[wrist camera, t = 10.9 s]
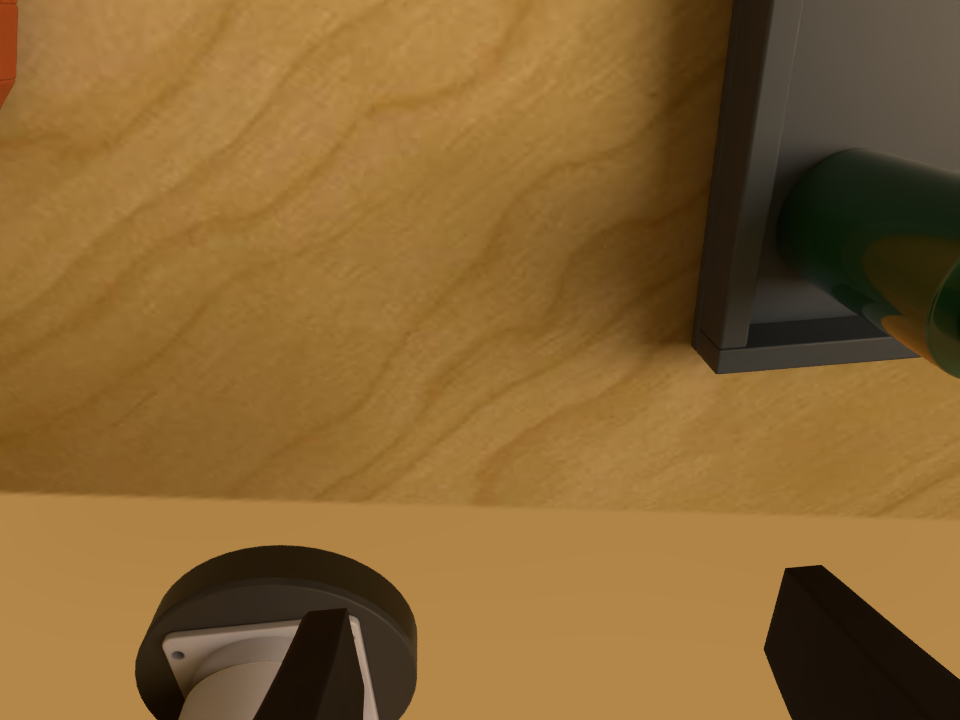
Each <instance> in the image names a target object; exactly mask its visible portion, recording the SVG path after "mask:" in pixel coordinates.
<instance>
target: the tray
mask: <svg viewBox="0 0 960 720" xmlns="http://www.w3.org/2000/svg"><path fill="white" fill-rule="evenodd" d="M858 148H871V149H877V150H881V151H885V152H889V153H893V154H896V155H900V156H904V157H908V158H912V159H916V160H919V161H923V162H927V163H931V164H935V165H939V166H942V167H946V168H950V169H954V170H958V171H960V0H734V4H733V12H732V20H731V28H730V36H729V44H728V52H727V60H726V68H725V77H724V85H723V93H722V101H721V109H720V117H719V125H718V133H717V141H716V149H715V157H714V165H713V173H712V181H711V189H710V198H709V206H708V214H707V222H706V230H705V238H704V246H703V254H702V262H701V270H700V278H699V286H698V294H697V302H696V310H695V319H694V327H693V335H692V343H691V346H692V347H693V348H694V350H695V351H697V353H698V354H699V355H700V356H701V357H702V358H703V360H704V361H705V362H706V363H707V364H708V365H709V367H710V368H711V369H712V370H713V371H714V372H715V374H727V373H739V372H751V371H763V370H775V369H787V368H799V367H810V366H822V365H834V364H846V363H858V362H870V361H882V360H894V359H906V358H918V357H921V356H920V355H918V354H917V353H915V352H914V351H912V350H911V349H909V348H908V347H906V346H905V345H903V344H902V343H900V342H899V341H897V340H895V339H894V338H892V337H891V336H889V335H888V334H886V333H885V332H883V331H882V330H880V329H879V328H877V327H876V326H874V325H872V324H871V323H869V322H868V321H866V320H865V319H863V318H862V317H860V316H859V315H857V314H856V313H854V312H853V311H851V310H849V309H848V308H846V307H845V306H843V305H842V304H840V303H839V302H837V301H836V300H834V299H833V298H831V297H830V296H828V295H827V294H825V293H823V292H822V291H820V290H819V289H817V288H816V287H814V286H813V285H811V284H810V283H808V282H807V281H805V280H804V279H802V278H800V277H799V276H797V275H796V274H794V273H793V272H792V271H791V270H790V269H789V268H788V267H787V265H786V264H785V263H784V261H783V259H782V257H781V255H780V252H779V248H778V243H777V227H778V221H779V217H780V213H781V210H782V208H783V205H784V203H785V201H786V199H787V197H788V196H789V194H790V192H791V191H792V189H793V188H794V187H795V185H796V184H797V183H798V182H799V180H800V179H801V178H802V177H803V176H804V175H805V174H806V173H807V172H808V171H810V170H811V169H812V168H813V167H814V166H816V165H817V164H819V163H820V162H822V161H823V160H825V159H827V158H829V157H831V156H833V155H836V154H838V153H841V152H844V151H847V150H851V149H858Z"/></svg>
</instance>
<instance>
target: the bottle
mask: <svg viewBox="0 0 960 720" xmlns="http://www.w3.org/2000/svg"><path fill="white" fill-rule="evenodd" d="M777 243H778V248H779V252H780V255H781V257H782V259H783V261H784V263H785V264H786V265H787V267H788V268H789V269H790V270H791V271H792V272H793V273H794V274H796V275H797V276H799V277H800V278H802V279H804V280H805V281H807V282H808V283H810V284H811V285H813V286H814V287H816V288H817V289H819V290H820V291H822V292H823V293H825V294H827V295H828V296H830V297H831V298H833V299H834V300H836V301H837V302H839V303H840V304H842V305H843V306H845V307H846V308H848V309H849V310H851V311H853V312H854V313H856V314H857V315H859V316H860V317H862V318H863V319H865V320H866V321H868V322H869V323H871V324H872V325H874V326H876V327H877V328H879V329H880V330H882V331H883V332H885V333H886V334H888V335H889V336H891V337H892V338H894V339H895V340H897V341H899V342H900V343H902V344H903V345H905V346H906V347H908V348H909V349H911V350H912V351H914V352H915V353H917V354H918V355H920V356H921V357H923V358H925V359H926V360H928V361H929V362H931V363H932V364H934V365H935V366H937V367H938V368H940V369H941V370H943V371H944V372H946V373H948V374H949V375H951V376H953V377H956V378H958V379H960V171H958V170H954V169H950V168H946V167H942V166H939V165H935V164H931V163H927V162H923V161H919V160H916V159H912V158H908V157H904V156H900V155H896V154H893V153H889V152H885V151H881V150H877V149H871V148H858V149H851V150H847V151H844V152H841V153H838V154H836V155H833V156H831V157H829V158H827V159H825V160H823V161H822V162H820V163H819V164H817V165H816V166H814V167H813V168H812V169H811V170H810V171H808V172H807V173H806V174H805V175H804V176H803V177H802V178H801V179H800V180H799V182H798V183H797V184H796V185H795V187H794V188H793V189H792V191H791V192H790V194H789V196H788V197H787V199H786V201H785V203H784V205H783V208H782V210H781V213H780V217H779V221H778V227H777Z"/></svg>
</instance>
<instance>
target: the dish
mask: <svg viewBox="0 0 960 720" xmlns="http://www.w3.org/2000/svg"><path fill="white" fill-rule="evenodd" d="M16 3H17V0H0V108H1V107H2V105H3V103H4V101H5V99H6V97H7V96H8V94H9V92H10V90H11V88H12V87H13V85H14V83H15V80H14V79H15V78H16V64H17V26H18V7H17V5H16Z"/></svg>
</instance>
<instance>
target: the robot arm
mask: <svg viewBox="0 0 960 720" xmlns="http://www.w3.org/2000/svg"><path fill="white" fill-rule="evenodd" d="M162 648H163V650H164V652H165V655H166V657H167V659H168V662H169V664H170V666H171V669H172V671H173V673H174V676H175V678H176V680H177V683H178V685H179V687H180V689H181V692H182V694H183V696H184V699H185V703H184V705H183V708H182V711H181V714H180V717H179V719H178V720H379V717H378V712H377V707H376V702H375V697H374V692H373V687H372V682H371V677H370V672H369V668H368V663H367V658H366V653H365V648H364V643H363V638H362V633H361V628H360V623H359V620H358V619H357V618H356V617H355V616H352V615H348V611H347V608H342V609H331V610H320V611H309V612H308V613H307V614H306V615H305V616H304V617H303V618H302V619H298V620H288V621H278V622H268V623H258V624H248V625H238V626H228V627H218V628H208V629H198V630H188V631H178V632H172V633H169V634H167V635H166V637H165V639H164V641H163V643H162ZM764 651H765V654H766V656H767V659H768V662H769V664H770V667H771V670H772V672H773V674H774V677H775V680H776V683H777V685H778V688H779V690H780V692H781V694H782V697H783V699H784V701H785V704H786V707H787V709H788V711H789V714H790V716H791V718H792V720H960V679H959V678H957V677H956V676H955V675H953V674H952V673H951V672H950V671H949V670H947V669H946V668H945V667H944V666H942V665H941V664H940V663H939V662H937V661H936V660H935V659H934V658H933V657H931V656H930V655H929V654H928V653H926V652H925V651H924V650H923V649H922V648H920V647H919V646H918V645H917V644H915V643H914V642H913V641H912V640H911V639H909V638H908V637H907V636H906V635H905V634H903V633H902V632H901V631H900V630H899V629H897V628H896V627H895V626H894V625H893V624H891V623H890V622H889V621H888V620H886V619H885V618H884V617H883V616H882V615H881V614H880V613H878V612H877V611H876V610H875V609H874V608H872V607H871V606H870V605H869V604H867V602H865V601H864V600H863V599H862V598H860V597H859V596H858V595H857V594H856V593H855V592H853V591H852V590H851V589H850V588H849V587H847V586H846V585H845V584H844V583H843V582H841V581H840V580H839V579H838V578H837V577H836V576H834V575H833V574H832V573H831V572H829V571H828V570H827V569H826V568H825V567H823V566H822V565H816V566H804V567H794V568H785V571H784V575H783V579H782V582H781V586H780V590H779V594H778V597H777V601H776V605H775V609H774V613H773V617H772V620H771V624H770V628H769V631H768V635H767V638H766V642H765V646H764Z"/></svg>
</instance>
